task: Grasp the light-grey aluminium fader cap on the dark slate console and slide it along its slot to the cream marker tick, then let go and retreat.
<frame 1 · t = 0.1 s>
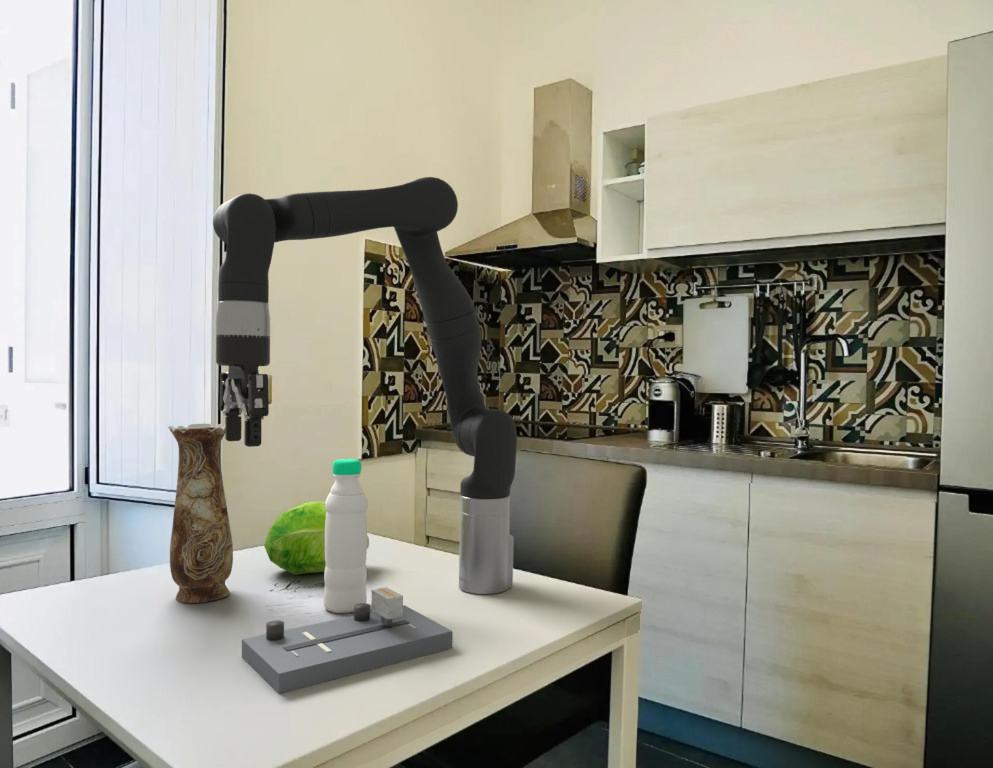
hand: (242, 443, 109), 29 cm above the table, fingers open, 8 cm apart
fader: (386, 608, 109), point 5 cm above the table, slide at -6.0 cm
lettuce: (317, 572, 146), on the table
console: (349, 652, 106), on the table
water bottle: (345, 608, 125), on the table
vase: (200, 596, 130), on the table
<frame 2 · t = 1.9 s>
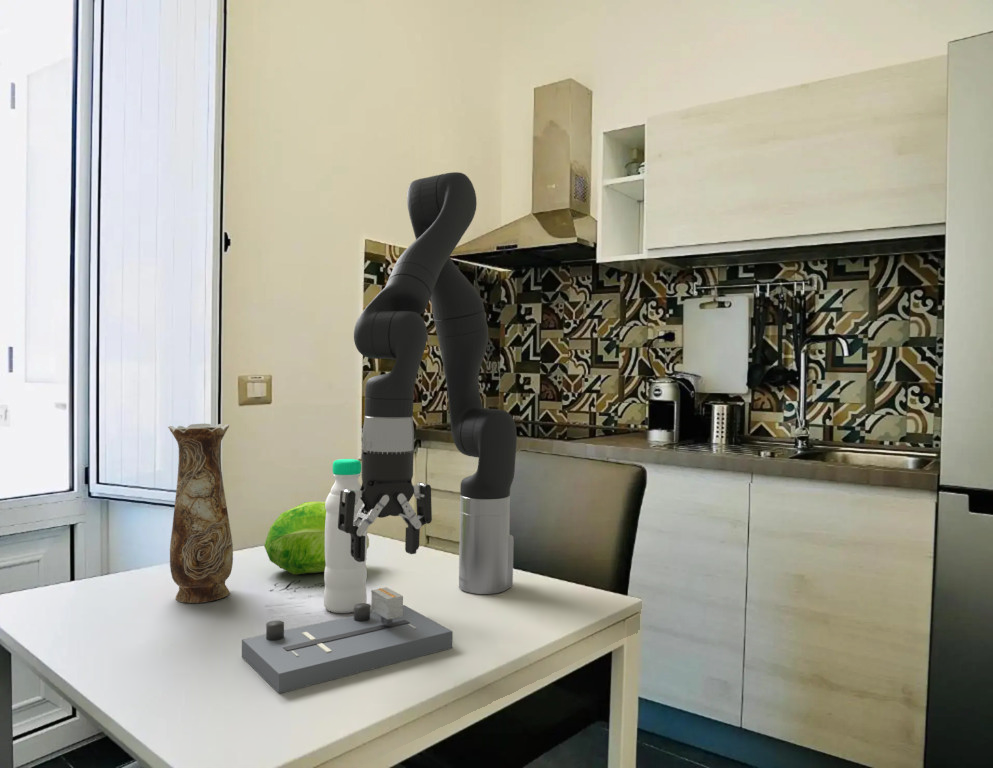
hand: (385, 556, 109), 13 cm above the table, fingers open, 8 cm apart
nothing on the table moved.
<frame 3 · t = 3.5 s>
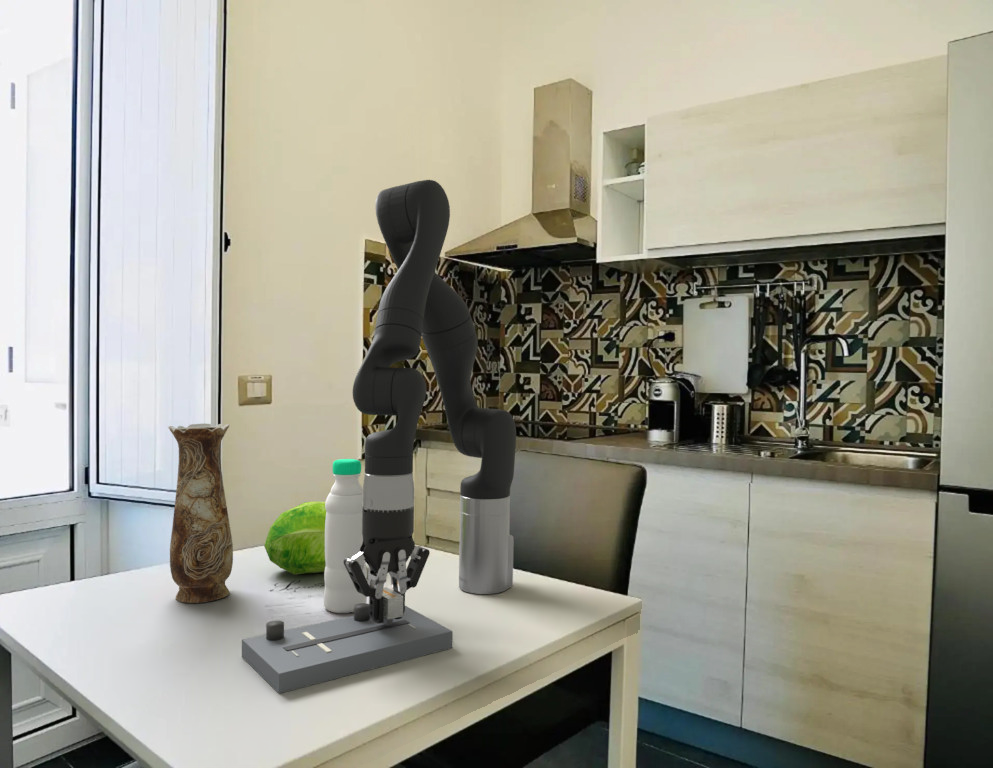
hand: (386, 619, 109), 4 cm above the table, fingers closed on fader, 2 cm apart
fader: (387, 608, 109), point 5 cm above the table, slide at -6.0 cm, touching gripper
everything else where it was.
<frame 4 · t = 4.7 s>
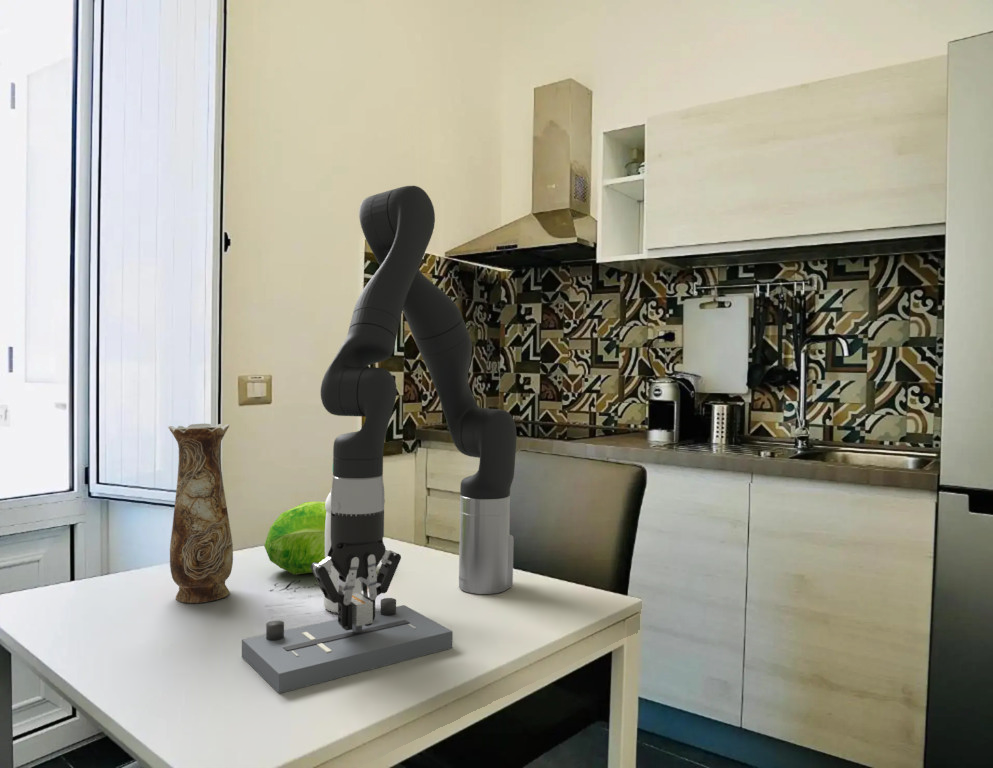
hand: (356, 625, 106), 4 cm above the table, fingers closed on fader, 2 cm apart
fader: (356, 614, 106), point 5 cm above the table, slide at -1.1 cm, touching gripper
everything else where it was.
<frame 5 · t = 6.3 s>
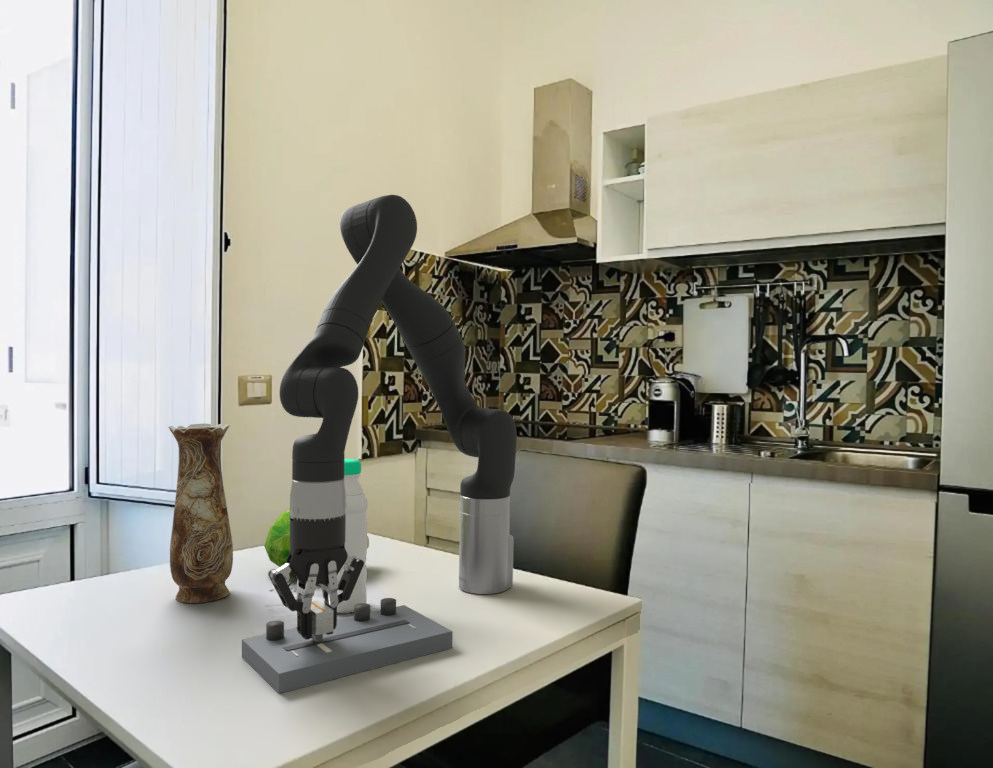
hand: (316, 634, 103), 4 cm above the table, fingers closed on fader, 2 cm apart
fader: (317, 622, 103), point 5 cm above the table, slide at 4.9 cm, touching gripper
everything else where it was.
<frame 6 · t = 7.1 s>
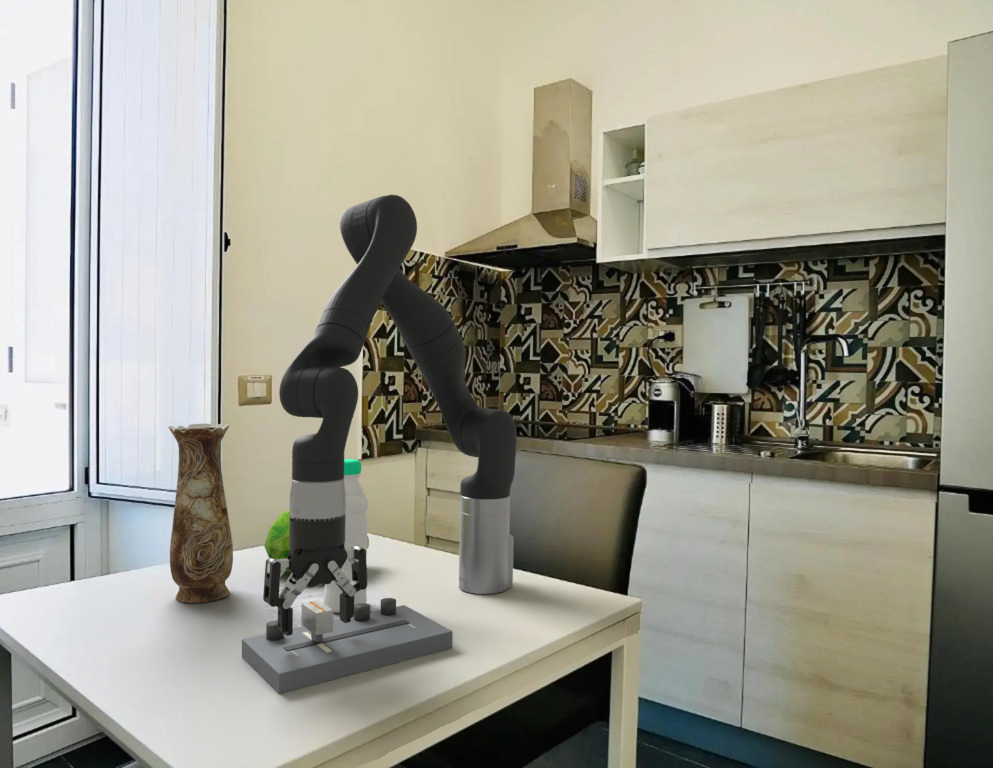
hand: (316, 627, 103), 5 cm above the table, fingers open, 8 cm apart
fader: (317, 622, 103), point 5 cm above the table, slide at 4.9 cm
everything else where it was.
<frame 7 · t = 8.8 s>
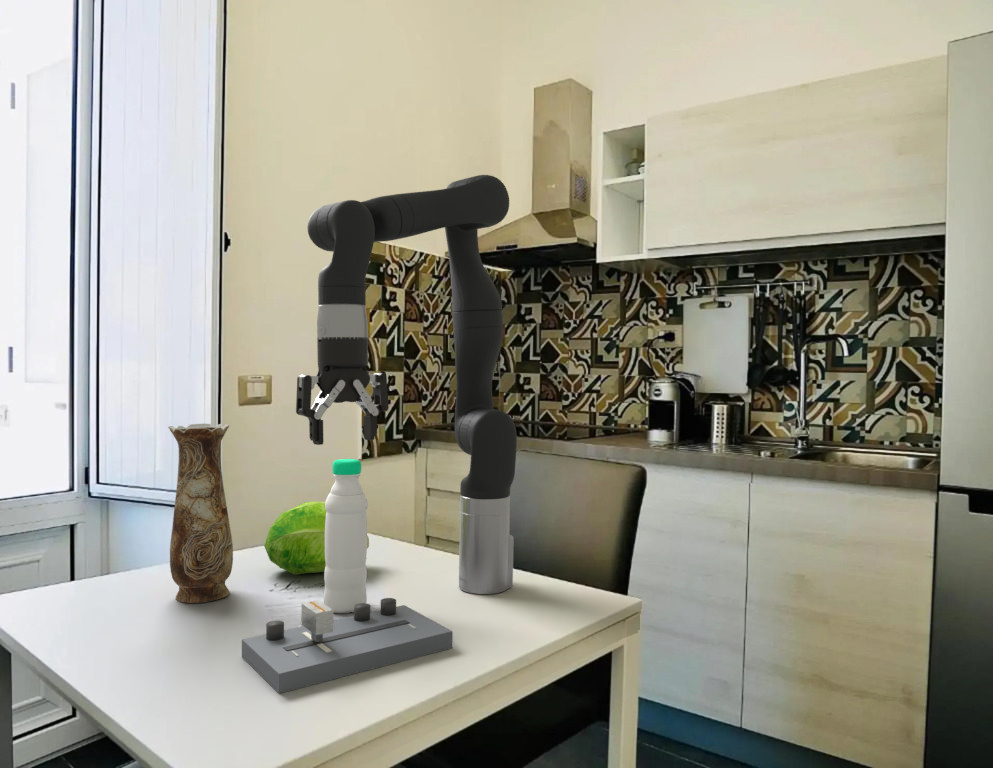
hand: (344, 442, 113), 29 cm above the table, fingers open, 8 cm apart
nothing on the table moved.
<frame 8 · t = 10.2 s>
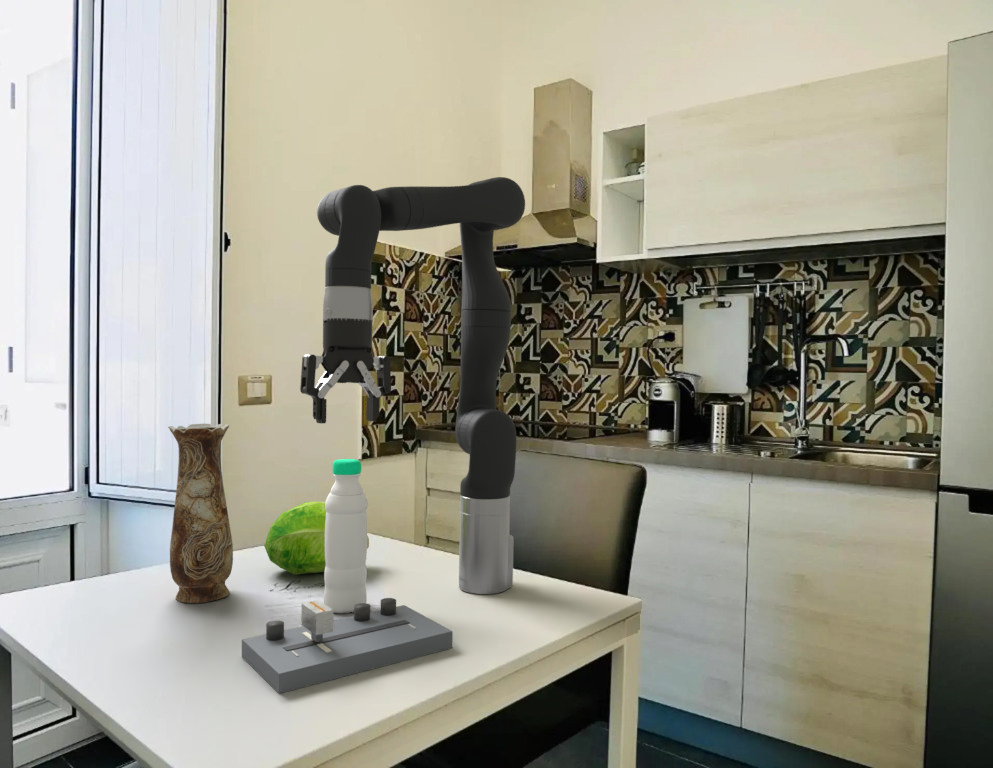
hand: (346, 422, 115), 32 cm above the table, fingers open, 8 cm apart
nothing on the table moved.
at the end: fader slide at 4.9 cm; the gripper is holding nothing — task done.
